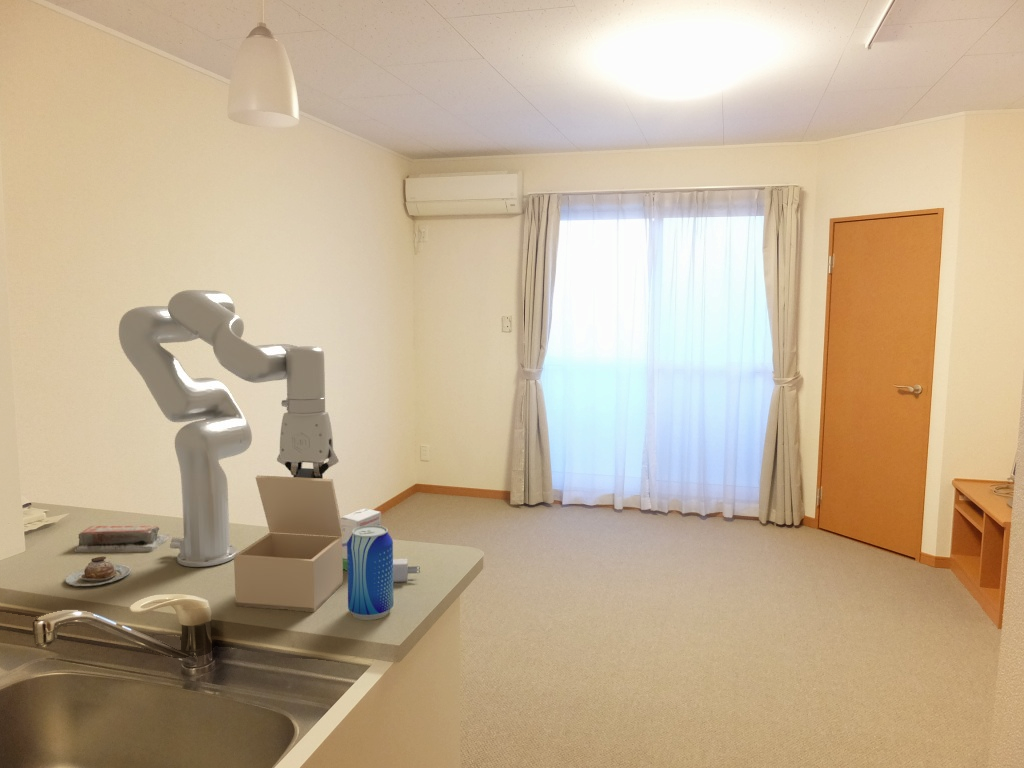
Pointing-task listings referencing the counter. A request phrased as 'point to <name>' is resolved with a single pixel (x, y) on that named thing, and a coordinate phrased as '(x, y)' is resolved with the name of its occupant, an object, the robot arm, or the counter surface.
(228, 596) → the counter surface
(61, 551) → the counter surface
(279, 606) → the carton
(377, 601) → the beer can
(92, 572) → the pastry
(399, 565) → the usb wall charger
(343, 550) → the ink box
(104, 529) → the packaged product
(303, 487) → the tan labeled panel
